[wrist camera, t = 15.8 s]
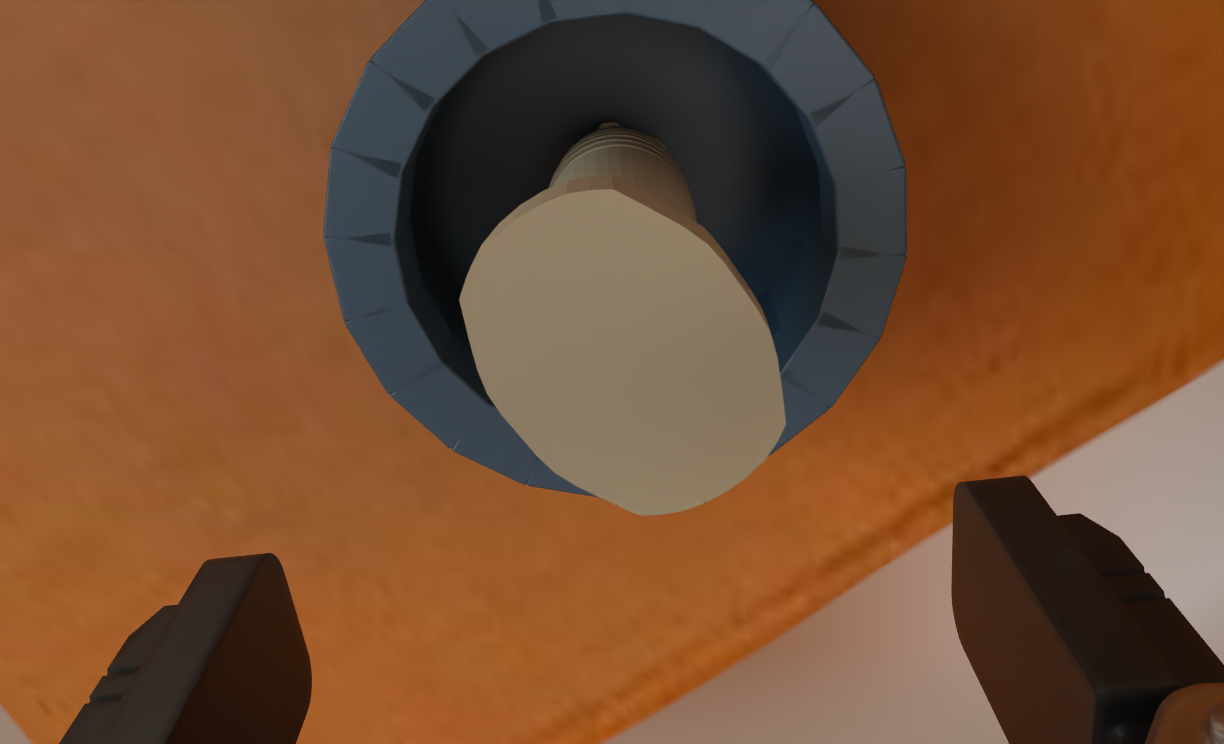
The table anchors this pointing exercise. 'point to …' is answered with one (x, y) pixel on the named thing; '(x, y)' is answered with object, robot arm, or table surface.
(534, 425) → the handle
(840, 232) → the jar
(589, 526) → the table surface
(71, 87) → the table surface
